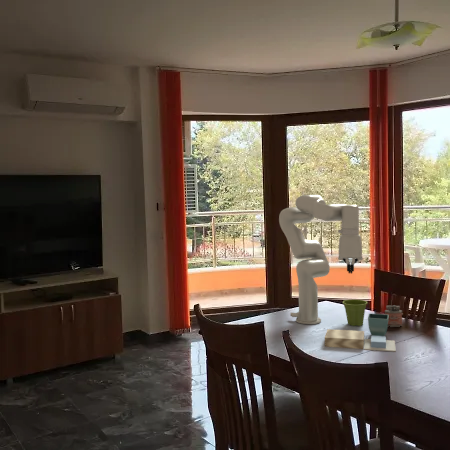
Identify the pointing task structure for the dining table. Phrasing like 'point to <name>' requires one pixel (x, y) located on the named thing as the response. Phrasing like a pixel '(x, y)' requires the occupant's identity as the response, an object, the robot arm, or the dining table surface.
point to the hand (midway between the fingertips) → (350, 272)
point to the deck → (344, 339)
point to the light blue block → (378, 341)
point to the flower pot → (378, 324)
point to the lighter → (394, 316)
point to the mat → (389, 347)
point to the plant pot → (355, 311)
